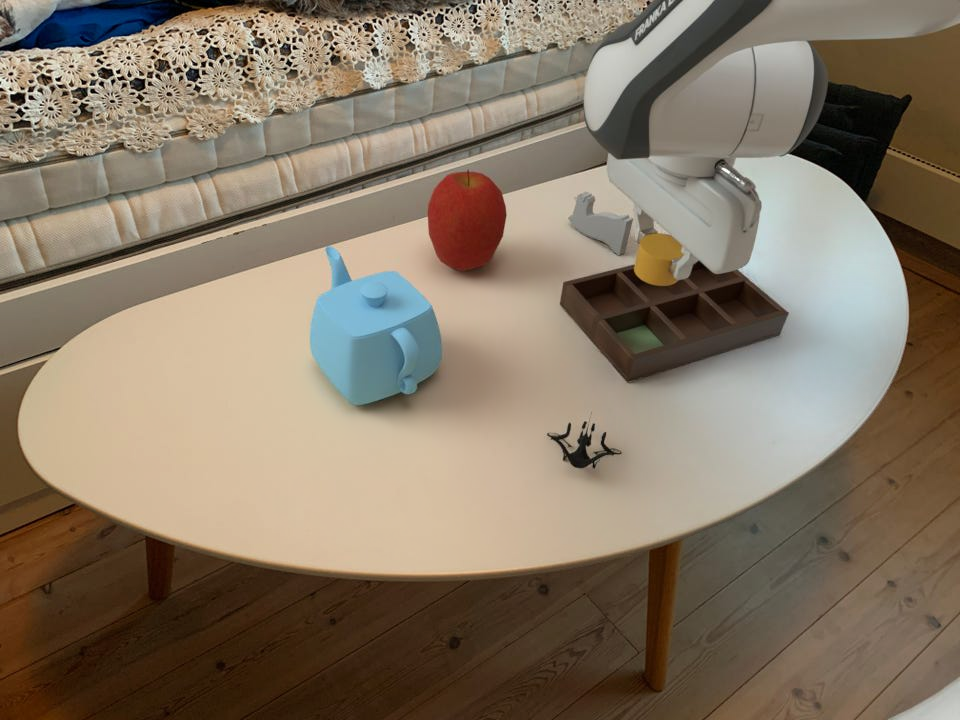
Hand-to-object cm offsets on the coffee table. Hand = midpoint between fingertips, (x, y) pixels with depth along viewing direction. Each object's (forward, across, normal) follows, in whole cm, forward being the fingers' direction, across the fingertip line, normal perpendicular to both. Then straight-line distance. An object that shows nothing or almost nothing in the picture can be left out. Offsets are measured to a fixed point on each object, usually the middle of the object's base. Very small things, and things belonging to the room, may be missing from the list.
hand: (660, 259), depth 83 cm
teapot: (+14, +10, +30) cm, 34 cm away
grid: (+13, +4, -7) cm, 16 cm away
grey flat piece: (+14, +23, -8) cm, 28 cm away
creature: (+13, -11, +14) cm, 23 cm away
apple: (+14, +24, +12) cm, 30 cm away
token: (+2, 0, 0) cm, 2 cm away
